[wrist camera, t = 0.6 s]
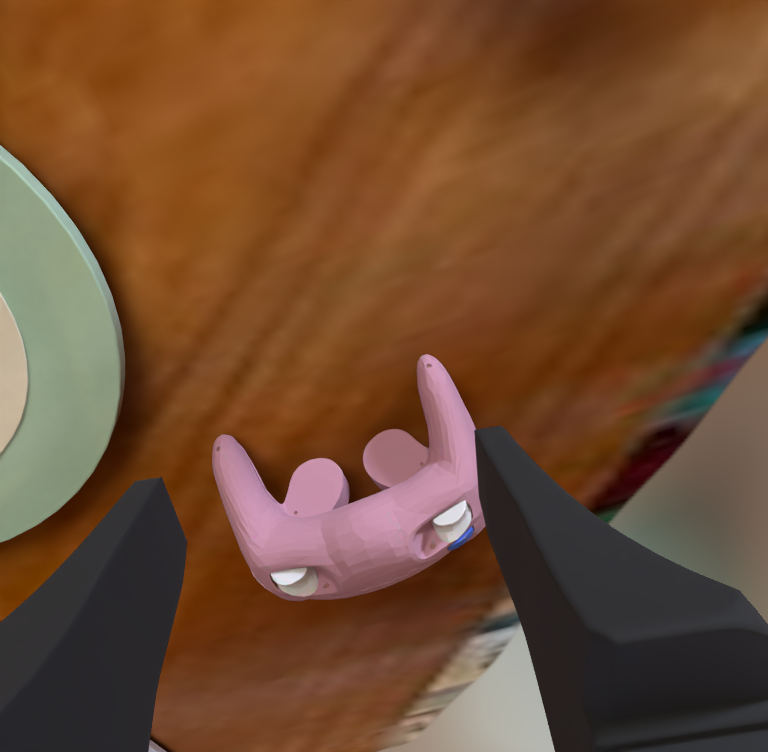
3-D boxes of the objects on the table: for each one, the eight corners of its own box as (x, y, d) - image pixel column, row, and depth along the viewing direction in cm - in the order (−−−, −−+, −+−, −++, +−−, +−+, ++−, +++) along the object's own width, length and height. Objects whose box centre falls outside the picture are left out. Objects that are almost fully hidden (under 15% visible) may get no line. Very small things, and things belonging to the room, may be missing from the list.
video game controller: (248, 479, 29) (275, 641, 25) (196, 433, 25) (218, 613, 21) (460, 397, 28) (523, 548, 24) (439, 336, 24) (510, 503, 20)
